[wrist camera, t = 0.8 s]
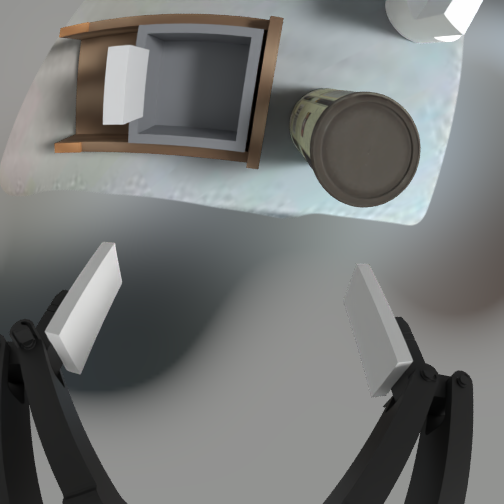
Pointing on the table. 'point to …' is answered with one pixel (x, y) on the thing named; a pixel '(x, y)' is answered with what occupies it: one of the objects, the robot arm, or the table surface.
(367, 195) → the coffee can
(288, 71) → the table surface
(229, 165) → the table surface
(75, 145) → the bay
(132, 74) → the box
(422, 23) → the base with upright slab
